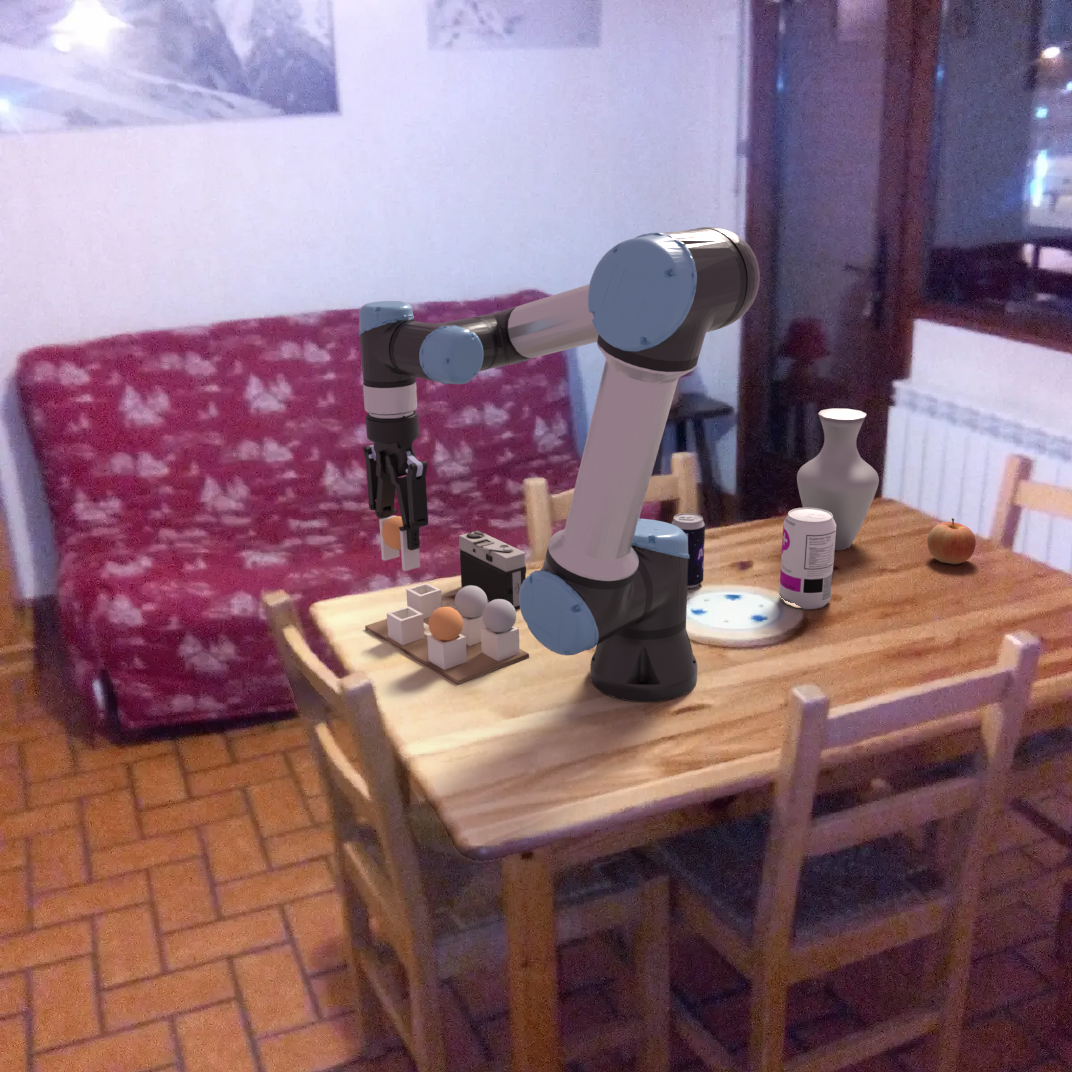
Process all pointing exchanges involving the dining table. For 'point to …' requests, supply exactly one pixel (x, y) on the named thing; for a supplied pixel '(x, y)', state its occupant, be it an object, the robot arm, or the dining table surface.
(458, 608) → the grey ball
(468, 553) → the camera
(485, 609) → the grey ball
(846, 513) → the vase
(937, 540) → the apple
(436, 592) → the tubes
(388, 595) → the dining table surface
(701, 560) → the beverage can
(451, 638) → the orange ball
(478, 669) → the rack board
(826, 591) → the supplement can
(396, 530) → the orange ball
